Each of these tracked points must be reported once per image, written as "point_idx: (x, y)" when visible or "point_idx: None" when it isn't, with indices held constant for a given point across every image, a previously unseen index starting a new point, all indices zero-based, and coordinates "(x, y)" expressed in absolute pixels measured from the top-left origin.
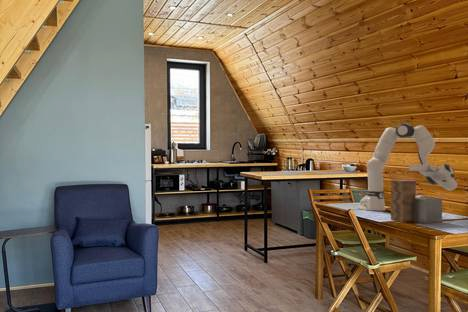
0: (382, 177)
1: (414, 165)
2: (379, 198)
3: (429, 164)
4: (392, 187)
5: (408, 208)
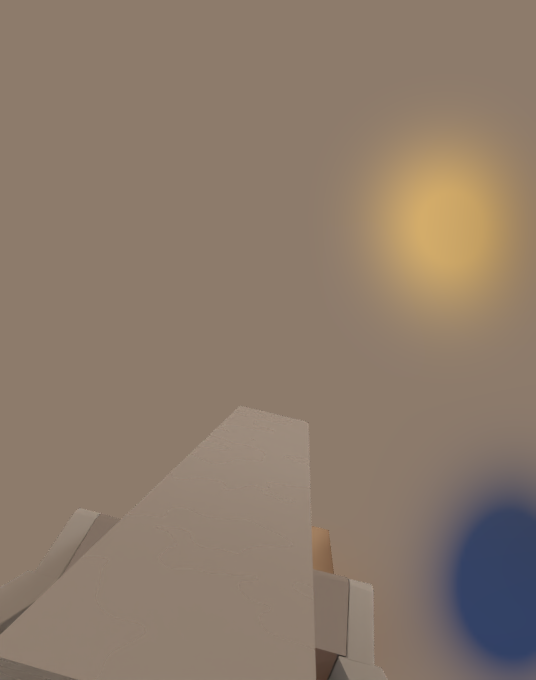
0: None
1: (236, 409)
2: None
3: (274, 623)
4: None
5: None
